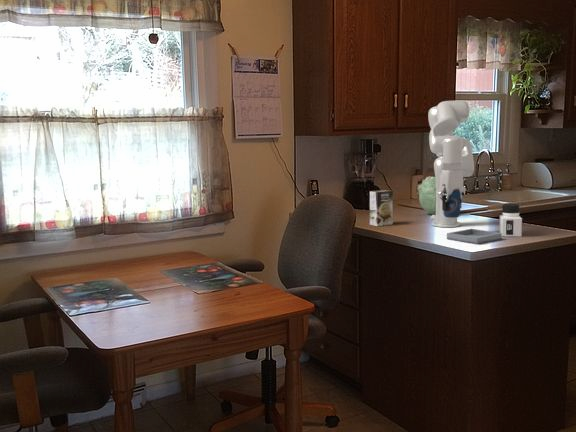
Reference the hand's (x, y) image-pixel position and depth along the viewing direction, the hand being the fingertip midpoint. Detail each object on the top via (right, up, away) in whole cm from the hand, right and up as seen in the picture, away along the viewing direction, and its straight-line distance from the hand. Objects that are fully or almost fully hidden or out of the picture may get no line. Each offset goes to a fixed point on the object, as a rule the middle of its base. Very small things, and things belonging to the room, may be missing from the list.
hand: (451, 209), depth 259 cm
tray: (+6, -12, -11) cm, 18 cm away
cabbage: (+7, -3, +56) cm, 56 cm away
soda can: (0, -3, +1) cm, 4 cm away
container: (+23, -11, -4) cm, 26 cm away
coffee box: (-25, -7, +32) cm, 41 cm away
